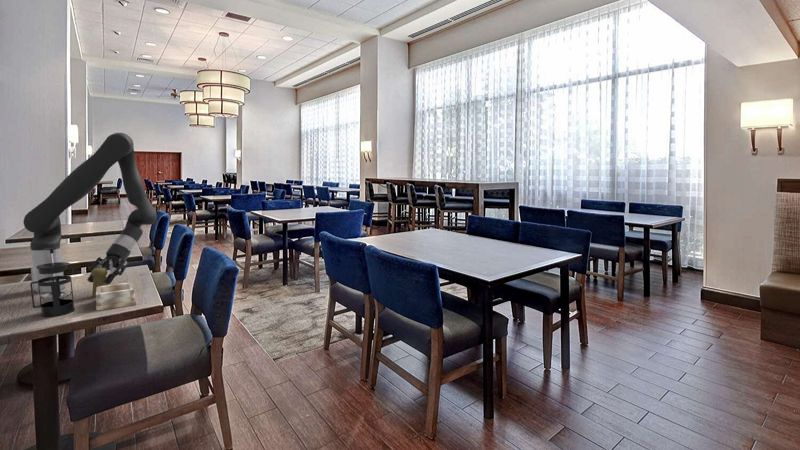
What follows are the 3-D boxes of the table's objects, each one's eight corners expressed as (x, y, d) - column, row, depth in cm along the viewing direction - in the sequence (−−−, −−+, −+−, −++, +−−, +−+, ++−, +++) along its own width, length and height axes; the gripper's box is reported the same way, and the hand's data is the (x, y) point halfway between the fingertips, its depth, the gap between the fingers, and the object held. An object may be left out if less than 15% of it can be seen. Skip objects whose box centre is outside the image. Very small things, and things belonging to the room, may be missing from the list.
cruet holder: (96, 310, 149) (94, 295, 148) (97, 300, 160) (95, 286, 160) (136, 304, 156) (134, 290, 155) (134, 294, 167) (133, 281, 166)
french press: (77, 305, 154) (71, 243, 151) (77, 313, 147) (70, 248, 143) (35, 312, 147) (27, 247, 144) (32, 320, 140) (24, 252, 136)
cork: (101, 298, 163) (98, 270, 161) (88, 297, 164) (85, 269, 162) (114, 293, 168) (112, 266, 167) (101, 292, 170) (99, 265, 168)
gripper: (101, 241, 173) (76, 276, 163) (129, 243, 169) (105, 279, 160) (114, 252, 178) (91, 285, 169) (141, 254, 175) (119, 288, 165)
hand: (98, 282), depth 164 cm, fingers open, 8 cm apart
